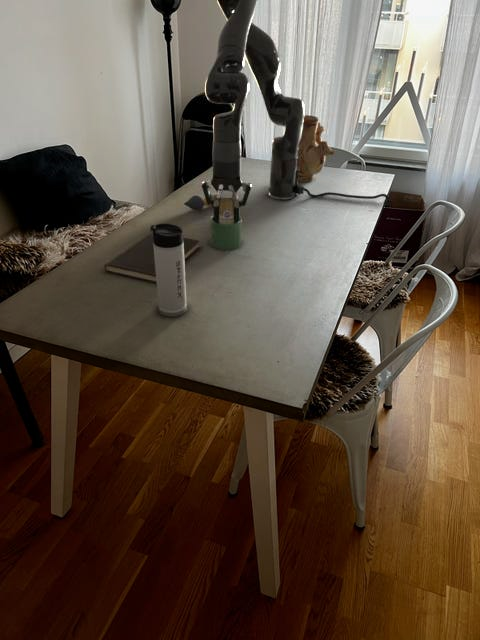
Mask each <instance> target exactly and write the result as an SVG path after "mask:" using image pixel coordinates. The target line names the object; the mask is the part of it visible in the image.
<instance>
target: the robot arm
mask: <svg viewBox="0 0 480 640" xmlns="http://www.w3.org/2000/svg"><path fill="white" fill-rule="evenodd" d="M216 1H217V4H218V6H219V8H220V10H221V12H222V14H223V16H224V17H225V19H226V22H225V24H224V26H223V27H222V29H221V30H220V33H219V36H218V40H217V48H216V55H215V60H214V62H213V64H212V66H211V68H210V70H209V72H208V74H207V77H206V80H205V85H204V92H205V96H206V98H207V100H208V101H209V102H210V103H212V104H218V105H233V108H232V110H230V111H228V112H222V113H219V114H215V115H214V117H213V122H212V123H213V124H212V129H213V130H212V131H213V134H212V135H213V141H212V153H211V157H212V178H211V180H208V181H206V180H203V181H202V182H201V183H202V184H201V188H202V191H203V195H204V198H206V201H207V204H211V205H213V206H212V207H213V216H214V217H216V219H218V220H219V200H220V195H221V191H222V190H229V191H231V192H232V200H233V202H234V206H235V207H234V220H237V218H239V216H240V209H241V207H245V206H246V205H247V201H248V199H249V195H250V192H251V190H252V186H253V185H252V183H251V182H248V183H246V182H244V181H243V179H242V174H241V173H242V141H241V137H242V118H243V113H244V110H245V105H246V102H247V99H248V95H249V92H250V81H249V78H248V76H247V75H246V74H245V73H244V72H241V71H242V70H243V69H244V66H245V60H246V63H247V65H248V67H249V70H250V71H251V73H252V75H253V77H254V79H255V83H257V86H258V89H259V91H260V94H261V96H262V100H263V102H264V106H265V109H266V112H267V115H268V117H269V120H270V121H271V123H273V125H276V126H279V127H284V132H283V134H282V135H278V136H275V137H274V138H273V139H272V142H271V158H270V171H269V172H270V175H269V187H268V196H269V198H272V199H274V200H279V201H287V200H292V199H294V198H296V197H297V195H303V194H304V192H306V193H307V195H308V196H309V197H312V198H318V197H324V196H338V197H344V198H351V199H361V200H362V199H363V200H366V199H367V200H374V199H378V198H381V197H385V198H386V199H390V197H389V195H387V194H386V193H379V194H376V195H354V194H346V193H341V192H340V193H339V192H331V191H328V192H322V193H318V194H313V193H311V192H310V190H309V189H308V188H305V187H304V186H303V185H301V184H299V183H298V182H299V180H298V174H299V171H298V170H297V159H298V148H299V142H300V140H301V135H302V128H303V121H304V114H305V104H304V102H303V100H302V99H300V98H297V97H293V96H285V95H284V94H283V93H282V91H281V89H280V87H279V84H278V80H279V77H280V73H281V66H282V64H281V63H282V62H281V58H280V55H279V52H278V50H277V49H278V48H277V47H276V44H275V42H274V39H272V37H271V36H270V35H269V34H268V33H267V32H266V31H264V30H263V29H262V28H260V27H259V26H257V25H255V24H254V23H253V22H252V21H253V18H254V14H255V11H256V7H257V4H258V0H216ZM211 187H213V189H214V190H215V192H216V194H215V195H216V197H215V200H214V199H212V196H211V195H212V193H211ZM241 188H242V191H243V192H244V194H243V197H242V199H241V200H240V198H239V194H238V191H239V190H240V189H241Z"/></svg>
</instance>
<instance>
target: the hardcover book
mask: <svg viewBox="0 0 480 640" xmlns="http://www.w3.org/2000/svg"><path fill="white" fill-rule="evenodd" d="M183 241H184V261H185V262H186V261H187V260H188V259H189V258H191V257H192V256H193V255H194V254H195V253H196V252H197V251H199V250H200V248H201V247H200V246H199V244H200V242H201V240H199V239H194V238H193V239H192V238H188V237H183ZM153 246H154V245H153V231H152V232H151V231H150V232H149V233H148V234H146V235H145V236H144V237H142V238H141V239H139V240H138V241H136V242H135V243H134V244H132V245H131V246H129V247H128V248H127V249H125V250H124V251H122V252H121V253H119V254H118V255H117V256H115V257H114V258H112V259H111V260H110V261H108V262H106V263H105V264H104V270H105V272H106V273H108V274H114V275H119V276H122V277H128V278H132V279H136V280H140V281H145V282H149V283H153V284H157V281H156V270H155V258H154V247H153Z"/></svg>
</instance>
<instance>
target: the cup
mask: <svg viewBox="0 0 480 640" xmlns="http://www.w3.org/2000/svg"><path fill="white" fill-rule="evenodd" d="M209 220H210V245H211V246H212V247H213V248H214V249H217V250H223V251H231V250H235V249H237V248H240V247H241V245H242V228H243V220H242V217H241V216H240V215H239V218H237V220H234V224H219V220H218V219H216V217H214V215H212V216H210V219H209Z"/></svg>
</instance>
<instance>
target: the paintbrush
mask: <svg viewBox="0 0 480 640" xmlns="http://www.w3.org/2000/svg"><path fill="white" fill-rule="evenodd" d="M211 196H212V199H214V200H215V197H216V194H211ZM183 205H184V206H186V207H188V208H190V209H191V210H194V211H201V210H202V209H203V208H204V207H205V206H207V207H214V206H213V205H211V204H207V201H206V198H205V197H202V196H201V195H197V194H195V195H192V196H191V197H190V198H189V199H188V200H187V201H185V202H184V203H183Z"/></svg>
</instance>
